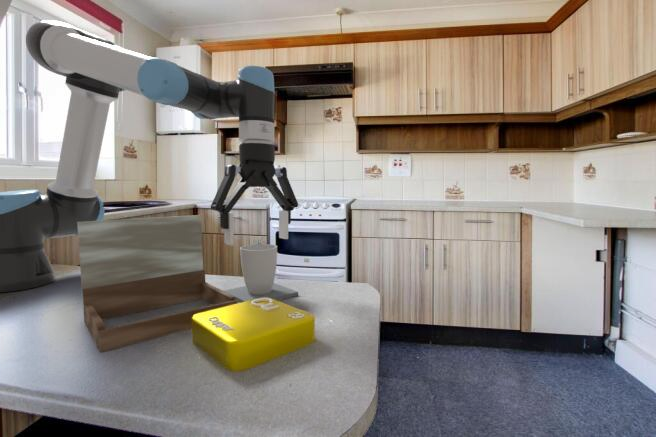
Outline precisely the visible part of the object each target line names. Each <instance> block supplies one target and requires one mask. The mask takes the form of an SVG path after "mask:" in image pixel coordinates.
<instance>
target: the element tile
mask: <svg viewBox="0 0 656 437" xmlns="http://www.w3.org/2000/svg"><path fill="white" fill-rule="evenodd" d="M315 319H316V318H315V316H314V314H312V313H309V312H307V311H305V310H303V309H299V308H297V307H294V306H292V305H289V304H288V303H287V304H286V303H284V302H282V301H280V300H278V301H277V300H274V299H272V298H268V297H262V298H258V299H253V300H249V301H245V302H241V303H240V302H238V303H237V304H233V305H229V306H225V307H221V308H217V309H213V310H208V311H204V312H200V313H197V314H194V315H193V316H192V317H191V326H192V329H191V342H192V344H193V345H195V346H196V347H197V348H199V349H200V350H201V351H203V352H204V353H206V355H208V356H209V357H210V358H211V359H213V360H214V361H216V362H217V363H218V364H219V365H221V366H222V367H224V368H225V369H226V370H228V371H231V372H240V371H241V372H242V371H246V370H249V369H251V368H253V367H257V366H259V365H262V364H264V363H266V362H269V361H271V360H273V359H277V358H279V357H282V356H284V355H287V354H289V353H291V352H294V351H295V352H296V351H297V350H299V349H303V348H304V347H307V346H310V345H312V344H313V343H315V340H316V331H315V330H316V327H315V326H316V323H315V321H316V320H315Z"/></svg>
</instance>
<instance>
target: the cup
mask: <svg viewBox="0 0 656 437" xmlns="http://www.w3.org/2000/svg"><path fill="white" fill-rule="evenodd" d="M239 254H240V266H241V271H242V275H243V276H242V277H243V281H244V282H243V283H244V285H245V286H246V287H247V290H248V293H250V294H254V295H261V294H267V293H269V292H271V290H272V286H273V283H275V277H276V272H277V271H276V270H277V262H278V261H277V260H278V245H276V244H269V243H268V244H267V243H257V244H256V243H255V244H247V245H243V246H240V247H239Z"/></svg>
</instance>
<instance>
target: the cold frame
mask: <svg viewBox="0 0 656 437" xmlns="http://www.w3.org/2000/svg"><path fill="white" fill-rule="evenodd" d="M77 226H78V235H77V237H78V252H79V253H78V254H79V265H80V283H81V290H82V304H83V305H82V307H83V320H84V323H85V325H86V328H87V329H88V332H89V333H90V335H91V337H92V339H93V341H94V343H95V345H96V347H97V349H98V351H99V352H100V353H103V352H107V351H112V350H115V349H119V348H123V347H126V346H130V345H133V344H138V343H141V342H145V341H149V340H154V339H157V338H161V337H163V336H168V335H173V334H176V333H179V332H183V331H186V330H187V331H188V330H192V326H191V317H192V316H193V315H194V314H197V313H200V312H204V311H208V310H213V309H217V308H221V307H225V306H229V305H233V304H237V303H239V302H238V300H236V299H235V296H233V295H231V294H229V293H227V292H225V291H224V290H223V289H220V288H218V287H216V286H214V285H212V284H210V283H208V282H206V271H205V269H204V257H203V254H204V253H203V233H202V232H203V230H202V229H203V228H202V215H201V214H196V215H193V214H192V215H179V216H162V217H160V216H159V217H142V218H141V217H140V218H139V217H138V218H125V219H124V218H123V219H108V220H107V219H105V220H104V219H103V221H87V222H77ZM198 300H203V301H204V300H205V301H204V302H206V303H208V305H205V306H200V307H196V308H191V309H188V310H182V311H178V312H173V313H170V314H169V313H168V314H164V315H160V316H156V317H151V318H148V319H143V320H139V321H132V322H129V323H125V324H121V325H116V326H112V327H111V326H110V327H107V325H106V324H105V322H104V320H107V319H112V318H118V317H121V316H126V315H130V314H136V313H141V312H145V311H150V310H154V309H155V310H156V309H159V308H164V307H169V306H174V305H178V304H184V303H188V301H189V302H193V301H198ZM183 302H184V303H183ZM209 303H210V304H209Z"/></svg>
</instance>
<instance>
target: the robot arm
mask: <svg viewBox="0 0 656 437" xmlns="http://www.w3.org/2000/svg"><path fill="white" fill-rule="evenodd" d="M25 45H26V49H27V51H28V54H30V56H31V58H32V59H33V60H34V61H35V62H36V63H37V64H39V66H41V67H42V68H43V69H46V70H47V71H48V72H51V73H53V74H55V75H60V76H62V77H65V83H64V84H65V85H66V86H67V88H68V89H69V90H70V96H69V97H70V98H69V103H68V110H67V116H66V120H65V125H64V132H63V138H62V144H61V150H60V156H59V161H58V166H57V172H56V178H55V180H54V181H52V182H50V183H48V184H47V188H46V192H45V194H42V193H41V192H40V190H38V189H22V190H21V189H20V190H9V191H0V293H7V292H9V293H10V292H16V291H23V290H28V289H32V288H37V287H41V286H44V285H48V284H50V283H52V282H54V281H55V280H56V274H55V270H54V268H53V266H52V264H51V262H50V260H49V258H48V255H47V254H46V252H45V246H44V245H45V244H44V242H45V239H54V238H62V237H71V236H72V237H73V236H75V237H76V236H77V237H78V226H77V222H87V221H104V218H105V213H106V212H105V207H103V206H104V202H103V200H102V199H101V197H100V196H99V192H98V190H97V189H96V188H95V187H94V185H95V180H96V174H97V170H98V166H99V159H100V156H101V151H102V145H103V139H104V135H105V130H106V125H107V120H108V115H109V111H110V106H111V104H112V103H113V102H115V101H117V100H118V99H119V96H120V92H121V93H122V92H124V91H128V92H131V93H134V94H137V95H140V96H142V97H145V98H147V99H148V100H151V101H153V102H155V103H158V104H159V105H160V104H161V105H164V106H171V107H174V108H177V109H178V108H179V109H181V110H182V109H183V110H186V111H189V112H191V113H192V114H193V115H194V116H195V117H196V118H198V119H201V120H202V119H203V120H211V121H212V120H217V119H228V118H238V141H239V142H241V143H240V144H239V145H238V149H239V150H238V151H239V152H238V154H239V156H238V158H239V166H237V165H235V164H227V165H226V166H225V167H224V176H223V179H222V181H221V183H220V185H219V187H218V189H217V191H216V193H215V196H214V197H213V200H212V202H211V204H210V209H211V210H212V211H216V212H217V213H219V214H220V215H219V224H220V225H219V226H220V229H221V230H224V232H223V233H224V235H223V236H224V238H223V239H224V245H228V246H235V245H234V243H235V238H234V236H235V234H234V233H235V232H234V231H235V228H234V213H231V211H232V210H233V208H234V206H235V205H236V204H237V203H238V201H239V200H240V199H241V197H242V196H243V195H244V193H245V192H246V191H247V189H249V188H265V189H267V190H268V191H269V193H270V194H271V196H272V197H273V198H274V200H275V201H276V203H277V204H278V205H279V207H280V208H281V209H280V210H278V238H279V239H283V240H289V225H290V224H291V222H292V220H291V219H292V211H294V209H295V208H298V207H299V203H298V200H297V198H296V195H295V192H294V190H293V187H292V186H291V183H290V180H289V177H288V172H287V170H288V169H287V168H286V167H285V166H281V167H277V168H276V167H275V165H274V163H275V161H276V159H275V158H276V156H275V154H276V152H275V151H276V148H275V146H274V144H273V143H274V142H275V94H276V91H275V77H274V73H273V72H272V71H271V70H270V69H268V68H267V67H264V66H259V65H246V66H243V67H241V68H239V69H238V71H237V72H238V73H237V74H238V75H237V79H235V80H231V81H217V80H214V79H211V78H209V77H206V76H204V75H202V74H199V73H198V72H197V73H196V72H194V71H192V70H189V69H187V68H185V67H183V66H181V65H179V64H177V63H175V62H172V61H170V60H167V59H162V58H159V57H152V56H147V55H145V54H142V53H138V52H135V51H132V50H130V49H129V50H128V49H126V48H123V47H121V46H120V45H118V44H117V43H114V42H112V41H111V40H109V39H106V38H103V37H101V36H98V35H96V34H93V33H90V32H88V31H85V30H82V29H80V28H78V27H75V26H73V25H71V24H69V23H66V22H63V21H58V20H53V19H52V20H50V19H49V20H48V19H47V20H46V19H45V20H40V21H38V22H35V23H33V24H32V25H31V26H30V27H29V28H28V30H27V32H26V34H25ZM238 174H239V176H240V177H241V178H240V179H239V181H238V182H237V183H236V186H235V187H234V189H233V190H232V191H231V192H230V189H231V188H232V185H233V183H234V181H235V178H236V177H237V175H238ZM274 176H275V177H276V180H277V182H278V183H277V182H276V180H275V179H274ZM278 184H279V186H280V188H279V186H278ZM229 192H230V194H229ZM228 194H229V195H228Z"/></svg>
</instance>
